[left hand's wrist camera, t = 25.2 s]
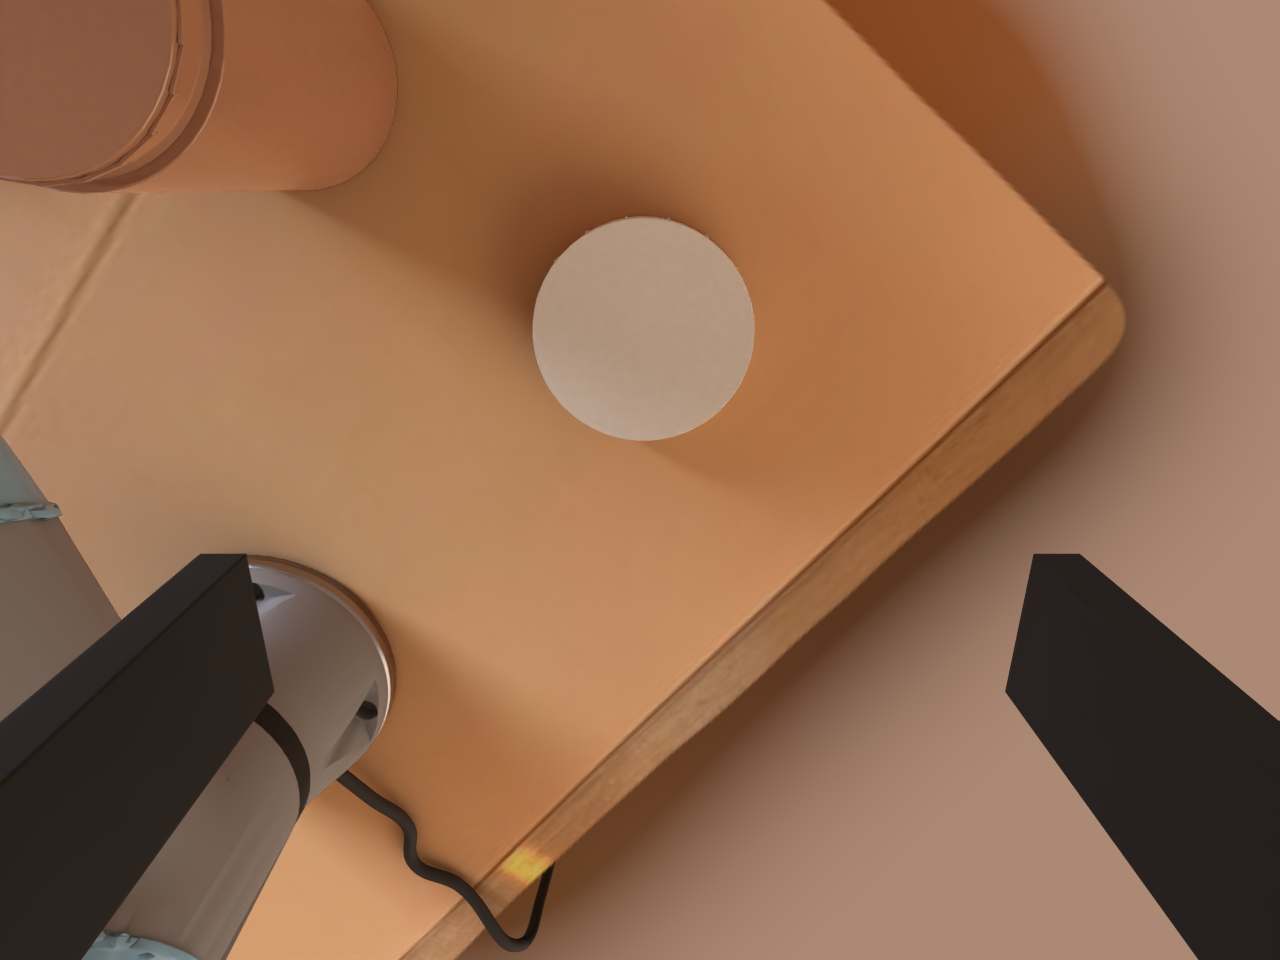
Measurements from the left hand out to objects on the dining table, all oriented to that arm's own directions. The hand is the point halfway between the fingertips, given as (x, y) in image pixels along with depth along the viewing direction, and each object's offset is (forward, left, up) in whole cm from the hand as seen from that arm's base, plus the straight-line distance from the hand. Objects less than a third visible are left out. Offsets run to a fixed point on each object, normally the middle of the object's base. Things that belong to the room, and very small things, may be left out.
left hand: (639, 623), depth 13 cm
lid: (0, 0, -26) cm, 27 cm away
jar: (+19, +7, -28) cm, 35 cm away
